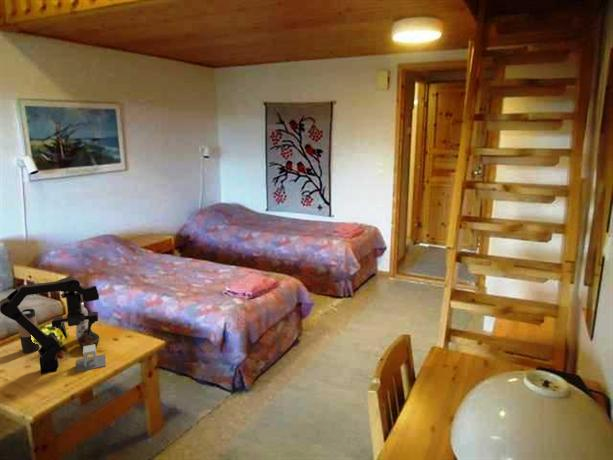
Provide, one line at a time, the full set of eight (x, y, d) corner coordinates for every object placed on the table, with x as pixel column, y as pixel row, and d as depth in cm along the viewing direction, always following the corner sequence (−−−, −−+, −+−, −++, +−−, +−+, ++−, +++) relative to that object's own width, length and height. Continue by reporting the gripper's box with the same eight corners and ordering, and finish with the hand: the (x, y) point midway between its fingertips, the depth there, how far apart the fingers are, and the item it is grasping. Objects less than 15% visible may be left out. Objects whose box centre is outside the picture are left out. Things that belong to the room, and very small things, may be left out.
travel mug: (38, 352, 216) (33, 313, 212) (20, 355, 214) (14, 315, 209) (41, 345, 223) (36, 307, 219) (24, 348, 221) (18, 310, 216)
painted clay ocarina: (97, 339, 230) (96, 324, 228) (102, 352, 218) (101, 337, 216) (76, 342, 225) (75, 328, 223) (80, 357, 212) (79, 341, 210)
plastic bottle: (77, 337, 232) (73, 301, 227) (91, 335, 233) (87, 299, 229) (75, 343, 225) (70, 305, 221) (89, 341, 227) (85, 304, 223)
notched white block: (85, 360, 207) (83, 346, 206) (96, 358, 209) (95, 344, 208) (84, 367, 201) (82, 353, 199) (96, 364, 203) (95, 350, 202)
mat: (75, 372, 197) (75, 371, 197) (77, 360, 208) (77, 359, 208) (105, 366, 202) (105, 365, 202) (105, 354, 213) (105, 354, 213)
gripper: (47, 314, 192) (52, 347, 195) (95, 307, 199) (98, 340, 202) (51, 305, 202) (55, 337, 205) (96, 299, 209) (100, 330, 212)
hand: (77, 336), depth 206 cm, fingers open, 9 cm apart
